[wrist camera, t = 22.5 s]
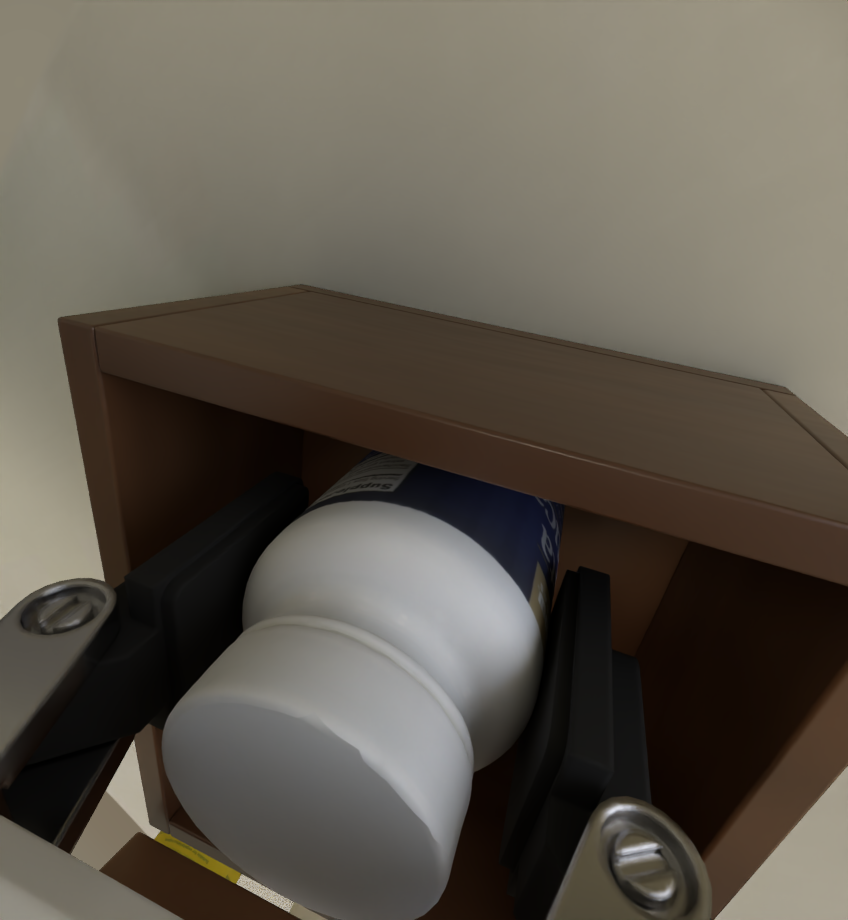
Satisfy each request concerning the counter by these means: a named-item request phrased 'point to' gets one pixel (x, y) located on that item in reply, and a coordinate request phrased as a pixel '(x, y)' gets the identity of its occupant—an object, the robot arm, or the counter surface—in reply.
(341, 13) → the counter surface
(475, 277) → the counter surface
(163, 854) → the lid
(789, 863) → the counter surface
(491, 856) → the chest
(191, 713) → the pill bottle
